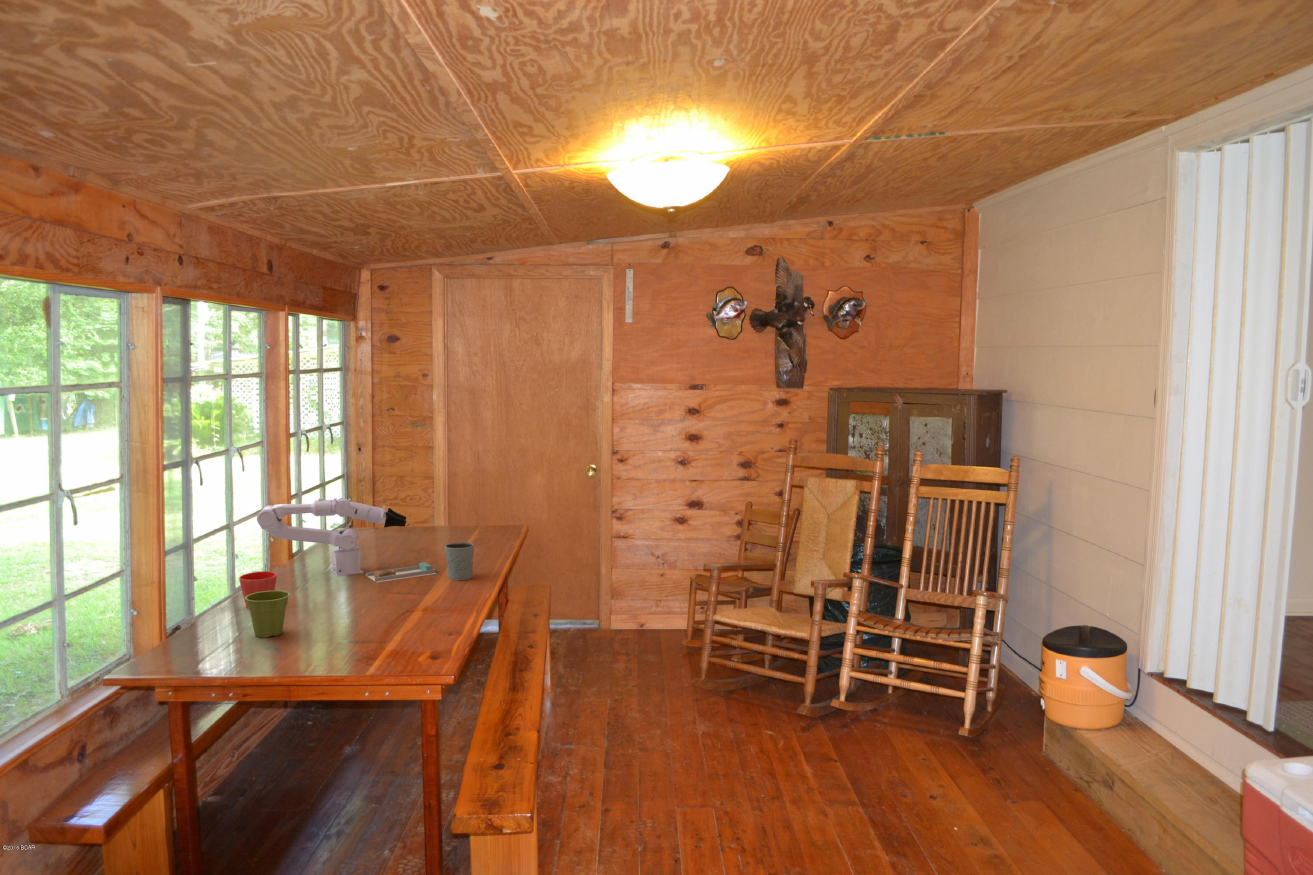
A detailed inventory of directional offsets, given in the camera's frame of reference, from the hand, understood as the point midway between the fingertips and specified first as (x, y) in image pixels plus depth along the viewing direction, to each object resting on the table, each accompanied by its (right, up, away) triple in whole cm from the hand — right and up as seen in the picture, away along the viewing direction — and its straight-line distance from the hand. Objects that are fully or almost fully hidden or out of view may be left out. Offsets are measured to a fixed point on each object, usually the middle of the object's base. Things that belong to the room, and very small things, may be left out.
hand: (405, 521), depth 325 cm
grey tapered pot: (+22, -19, -11) cm, 31 cm away
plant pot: (-18, -25, -75) cm, 81 cm away
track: (+1, -19, -8) cm, 20 cm away
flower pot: (-33, -22, -46) cm, 61 cm away
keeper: (-4, -19, -11) cm, 22 cm away
